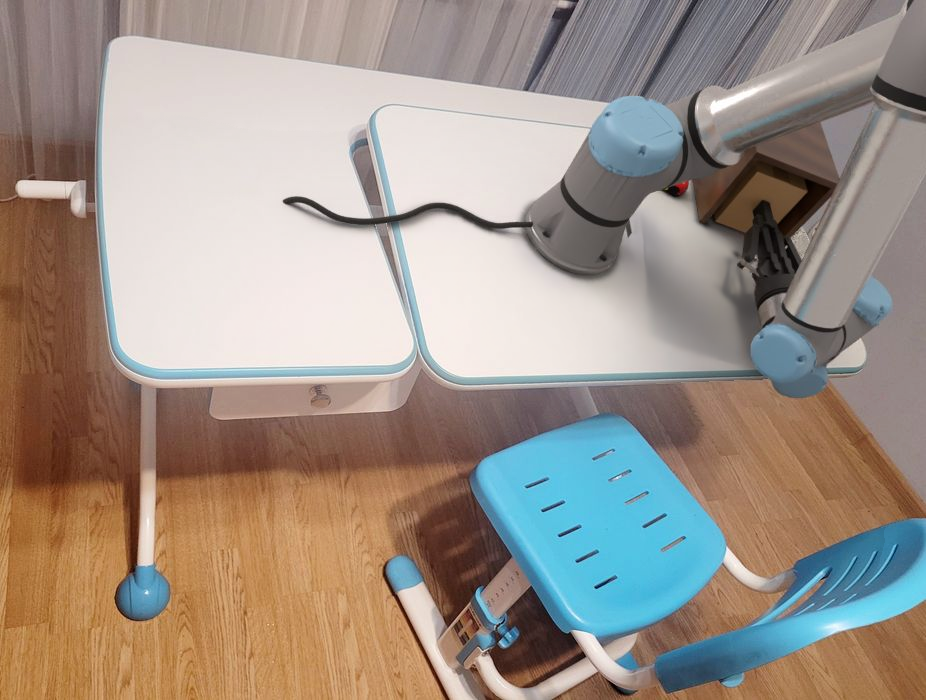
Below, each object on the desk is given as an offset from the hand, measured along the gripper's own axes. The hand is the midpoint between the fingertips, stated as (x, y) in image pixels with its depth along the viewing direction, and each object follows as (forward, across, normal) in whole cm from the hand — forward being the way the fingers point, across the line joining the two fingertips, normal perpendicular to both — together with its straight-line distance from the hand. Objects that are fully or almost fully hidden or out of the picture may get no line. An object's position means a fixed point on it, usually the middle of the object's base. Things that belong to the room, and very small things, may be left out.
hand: (761, 206), depth 132 cm
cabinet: (+7, 0, -6) cm, 9 cm away
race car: (+6, -17, -6) cm, 20 cm away
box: (+7, 0, -6) cm, 10 cm away
